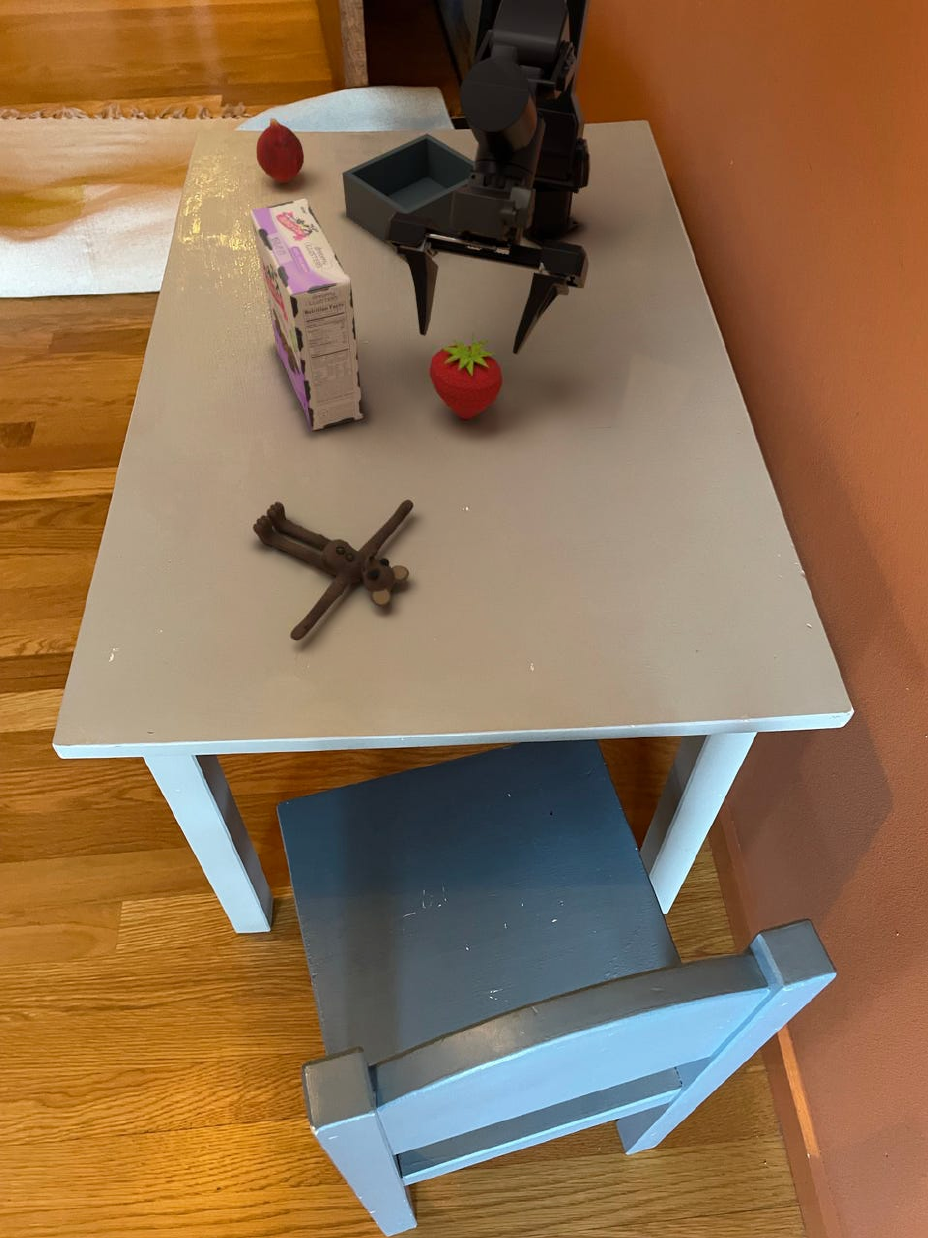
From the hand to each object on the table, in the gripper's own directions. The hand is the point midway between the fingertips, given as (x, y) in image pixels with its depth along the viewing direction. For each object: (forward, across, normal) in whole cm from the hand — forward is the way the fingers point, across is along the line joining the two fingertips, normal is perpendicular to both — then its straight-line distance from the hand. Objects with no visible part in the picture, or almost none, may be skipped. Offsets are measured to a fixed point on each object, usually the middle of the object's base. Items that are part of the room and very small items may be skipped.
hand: (468, 344), depth 87 cm
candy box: (+6, -16, +6) cm, 18 cm away
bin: (-17, -15, +28) cm, 36 cm away
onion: (-18, -34, +30) cm, 49 cm away
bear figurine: (+22, -6, -10) cm, 25 cm away
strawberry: (+7, 0, +6) cm, 9 cm away
